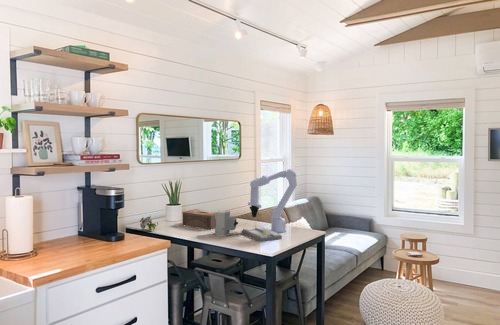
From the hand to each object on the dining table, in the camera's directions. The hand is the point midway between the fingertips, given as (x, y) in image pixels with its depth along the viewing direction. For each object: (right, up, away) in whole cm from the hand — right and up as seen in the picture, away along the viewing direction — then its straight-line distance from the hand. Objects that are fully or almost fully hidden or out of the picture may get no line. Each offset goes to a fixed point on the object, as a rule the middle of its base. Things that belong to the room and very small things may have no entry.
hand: (254, 216), depth 267 cm
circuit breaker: (-18, -10, -12) cm, 24 cm away
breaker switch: (+8, -9, -21) cm, 24 cm away
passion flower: (-72, -9, -3) cm, 73 cm away
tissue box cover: (-37, -9, +13) cm, 40 cm away
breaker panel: (+4, -10, -15) cm, 19 cm away
